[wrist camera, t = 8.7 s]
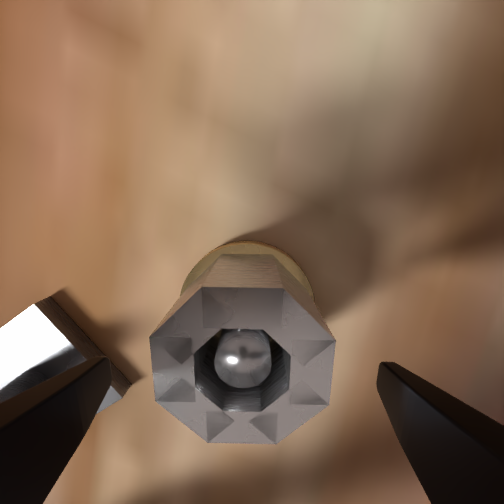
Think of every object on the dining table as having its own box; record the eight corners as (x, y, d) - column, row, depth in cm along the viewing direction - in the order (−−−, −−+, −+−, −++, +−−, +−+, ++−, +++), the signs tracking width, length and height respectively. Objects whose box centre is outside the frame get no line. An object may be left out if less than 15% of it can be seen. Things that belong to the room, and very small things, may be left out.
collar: (301, 362, 13) (325, 445, 8) (191, 360, 13) (159, 441, 8) (308, 254, 11) (341, 288, 7) (185, 253, 11) (144, 285, 7)
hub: (333, 317, 13) (379, 387, 8) (232, 376, 14) (220, 470, 9) (264, 214, 12) (271, 224, 7) (159, 286, 13) (101, 339, 8)
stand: (131, 384, 14) (57, 494, 9) (50, 434, 15) (-60, 561, 10) (50, 296, 13) (-92, 363, 8) (-33, 356, 14) (-209, 453, 9)
